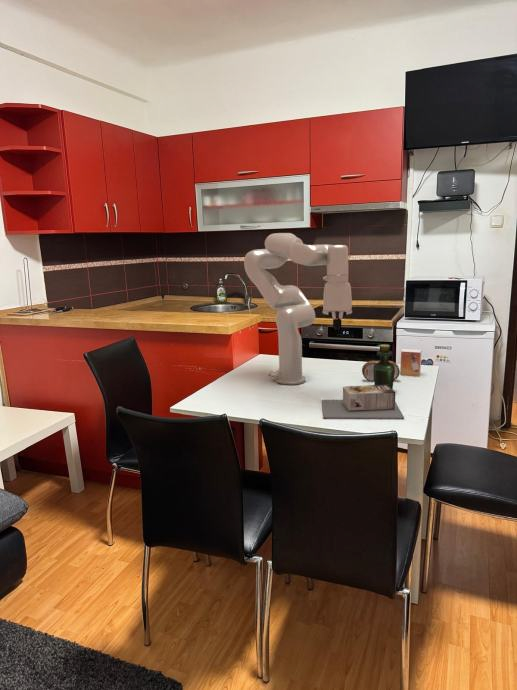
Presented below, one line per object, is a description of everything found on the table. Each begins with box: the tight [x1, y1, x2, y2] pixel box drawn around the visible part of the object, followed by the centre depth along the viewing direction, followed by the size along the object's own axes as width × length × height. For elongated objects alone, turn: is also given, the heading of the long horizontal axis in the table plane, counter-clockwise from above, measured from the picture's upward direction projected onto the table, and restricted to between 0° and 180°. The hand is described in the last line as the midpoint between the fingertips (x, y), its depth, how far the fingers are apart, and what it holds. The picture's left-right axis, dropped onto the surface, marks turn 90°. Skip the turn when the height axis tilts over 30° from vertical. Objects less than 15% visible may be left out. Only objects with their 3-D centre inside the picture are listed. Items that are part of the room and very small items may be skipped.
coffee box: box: [342, 384, 396, 411], centre depth 170 cm, size 9×6×16 cm
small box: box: [399, 348, 422, 377], centre depth 209 cm, size 8×6×10 cm
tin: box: [361, 360, 400, 382], centre depth 201 cm, size 15×3×8 cm, turn 84°
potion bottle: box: [373, 343, 395, 390], centre depth 187 cm, size 8×8×18 cm
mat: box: [321, 399, 405, 420], centre depth 169 cm, size 26×18×1 cm
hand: (337, 329), depth 181 cm, fingers closed
